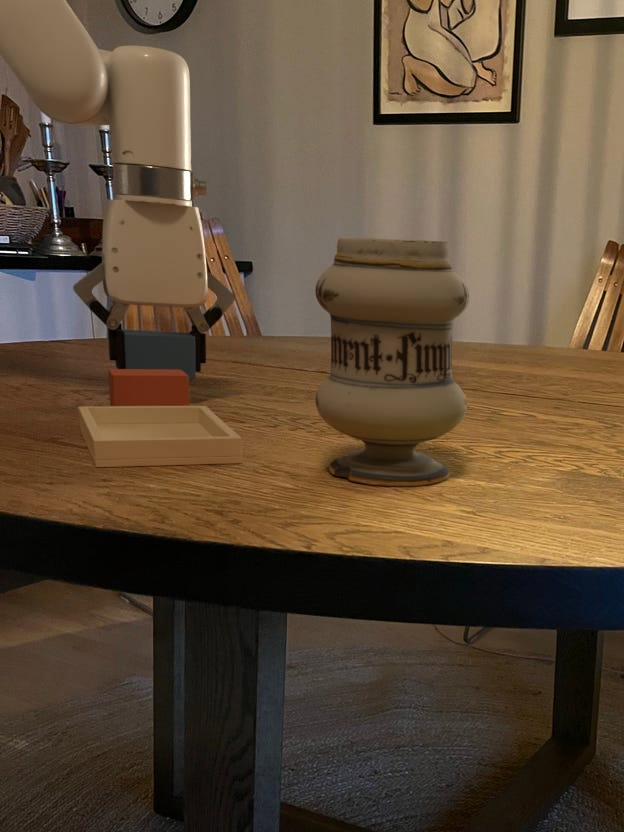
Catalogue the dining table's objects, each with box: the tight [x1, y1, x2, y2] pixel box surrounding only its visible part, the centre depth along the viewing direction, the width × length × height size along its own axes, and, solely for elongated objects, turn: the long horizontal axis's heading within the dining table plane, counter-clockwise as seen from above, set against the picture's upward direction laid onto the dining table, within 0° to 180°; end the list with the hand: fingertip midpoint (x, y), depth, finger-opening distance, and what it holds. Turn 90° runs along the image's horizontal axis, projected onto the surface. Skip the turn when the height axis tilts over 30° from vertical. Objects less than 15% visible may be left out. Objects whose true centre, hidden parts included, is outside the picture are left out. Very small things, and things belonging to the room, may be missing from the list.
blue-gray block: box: [122, 329, 197, 381], centre depth 109 cm, size 7×5×4 cm, turn 114°
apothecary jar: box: [315, 237, 470, 488], centre depth 81 cm, size 12×12×18 cm
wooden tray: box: [77, 405, 243, 468], centre depth 89 cm, size 17×11×2 cm
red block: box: [107, 368, 191, 406], centre depth 101 cm, size 7×5×4 cm, turn 114°
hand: (158, 368), depth 110 cm, fingers closed on blue-gray block, 7 cm apart
